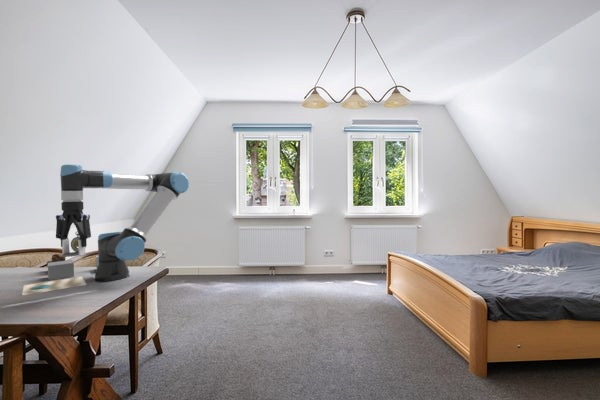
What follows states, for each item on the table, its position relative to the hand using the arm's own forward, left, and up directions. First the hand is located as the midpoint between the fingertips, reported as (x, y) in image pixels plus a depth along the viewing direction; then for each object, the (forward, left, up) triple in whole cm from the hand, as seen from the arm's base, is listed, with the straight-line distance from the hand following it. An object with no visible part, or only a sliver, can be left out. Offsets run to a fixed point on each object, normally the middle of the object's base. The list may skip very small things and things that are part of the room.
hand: (74, 254), depth 131 cm
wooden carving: (+41, -35, -17) cm, 57 cm away
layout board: (+17, -8, -17) cm, 25 cm away
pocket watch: (0, 0, 0) cm, 1 cm away
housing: (+27, -23, -17) cm, 39 cm away
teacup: (+16, -40, -17) cm, 47 cm away
